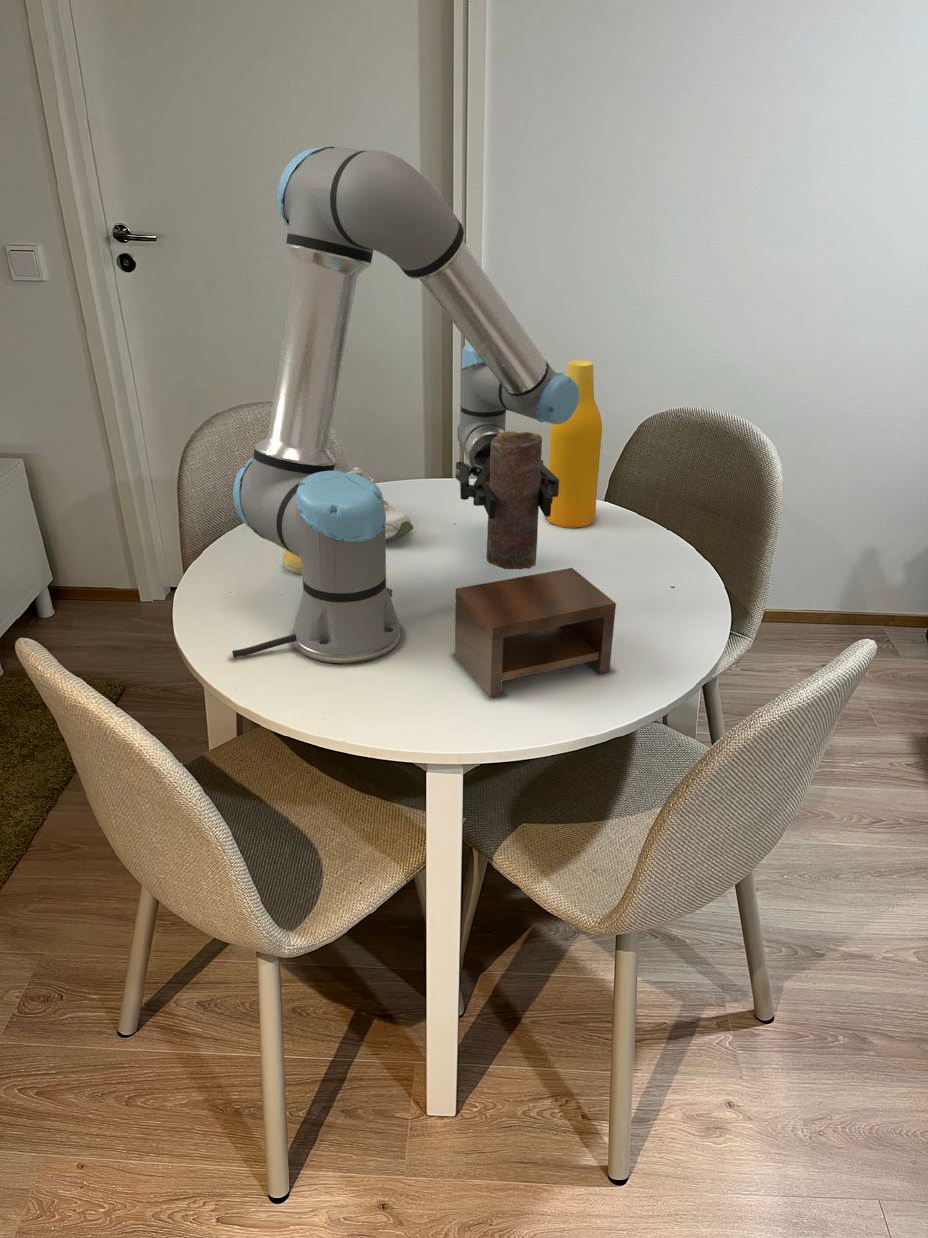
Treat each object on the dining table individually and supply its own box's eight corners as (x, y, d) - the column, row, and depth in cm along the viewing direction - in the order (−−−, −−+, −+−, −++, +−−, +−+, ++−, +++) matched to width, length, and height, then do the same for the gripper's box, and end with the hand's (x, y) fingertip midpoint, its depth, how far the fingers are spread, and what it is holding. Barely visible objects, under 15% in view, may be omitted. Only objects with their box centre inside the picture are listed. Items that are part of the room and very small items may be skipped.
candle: (519, 581, 141) (526, 446, 131) (476, 569, 144) (479, 436, 135) (544, 563, 146) (553, 432, 137) (502, 551, 150) (507, 423, 140)
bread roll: (276, 562, 164) (274, 540, 162) (326, 551, 168) (325, 530, 166) (295, 581, 158) (293, 558, 156) (346, 569, 162) (345, 547, 160)
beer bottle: (582, 532, 177) (594, 371, 164) (536, 522, 181) (544, 364, 168) (602, 516, 184) (616, 361, 171) (558, 506, 188) (567, 354, 175)
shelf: (490, 698, 128) (492, 627, 123) (454, 655, 138) (455, 588, 133) (609, 671, 134) (616, 603, 129) (567, 632, 144) (572, 567, 139)
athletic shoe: (392, 552, 168) (400, 483, 164) (297, 522, 180) (303, 457, 177) (428, 547, 176) (437, 481, 172) (335, 518, 188) (341, 456, 185)
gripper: (552, 476, 159) (588, 530, 139) (429, 480, 156) (448, 536, 136) (555, 431, 155) (593, 480, 135) (429, 434, 153) (449, 485, 133)
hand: (520, 508), depth 136 cm, fingers closed on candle, 7 cm apart
